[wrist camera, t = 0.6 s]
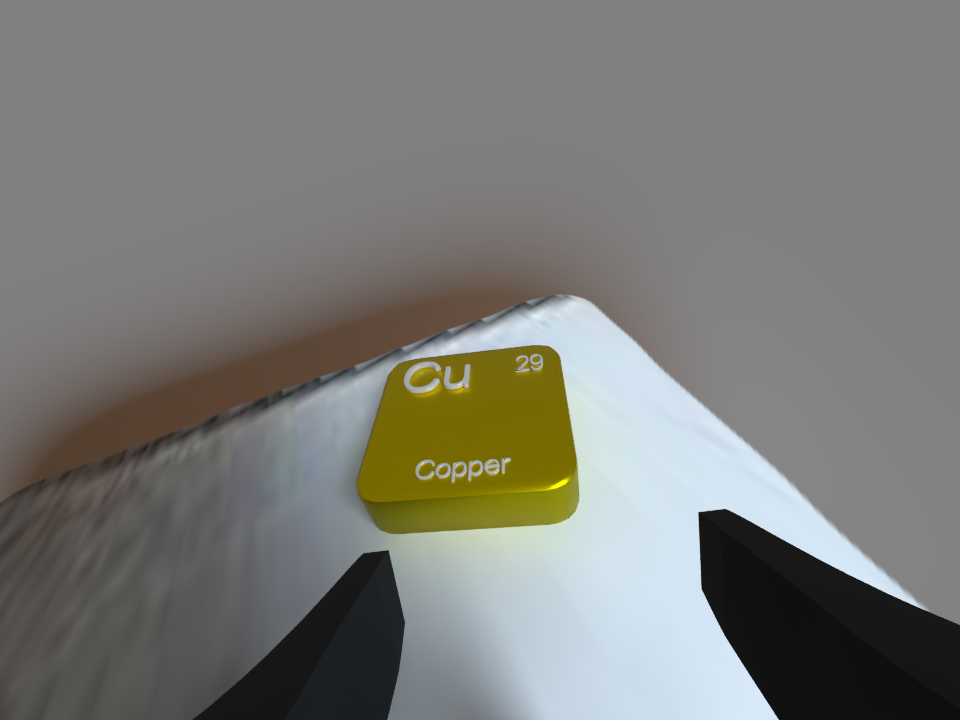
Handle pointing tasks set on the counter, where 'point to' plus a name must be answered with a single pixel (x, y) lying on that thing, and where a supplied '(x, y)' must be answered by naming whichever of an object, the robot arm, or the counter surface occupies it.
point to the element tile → (472, 444)
